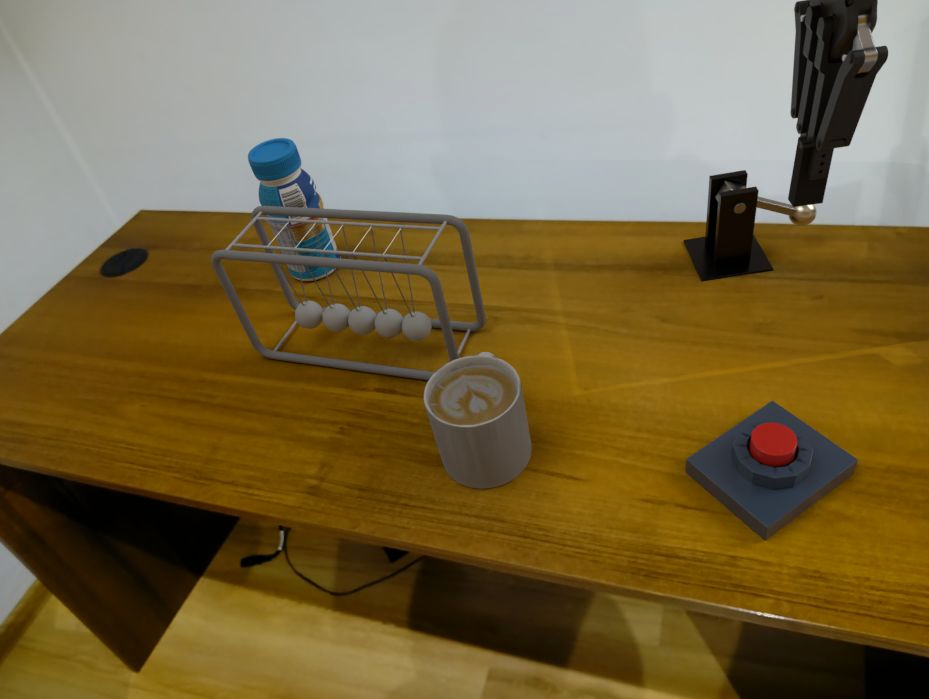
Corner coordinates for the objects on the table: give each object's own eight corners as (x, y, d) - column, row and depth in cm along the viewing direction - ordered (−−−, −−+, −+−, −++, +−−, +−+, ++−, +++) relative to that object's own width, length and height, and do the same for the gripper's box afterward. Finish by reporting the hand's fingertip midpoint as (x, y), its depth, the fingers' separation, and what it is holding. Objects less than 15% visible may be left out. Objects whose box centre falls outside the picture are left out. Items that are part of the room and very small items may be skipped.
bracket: (749, 236, 98) (759, 158, 90) (772, 276, 91) (784, 196, 83) (683, 246, 99) (686, 170, 91) (700, 286, 92) (706, 208, 84)
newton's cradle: (257, 358, 97) (202, 252, 85) (294, 308, 104) (248, 203, 92) (463, 387, 86) (434, 270, 74) (489, 329, 93) (466, 213, 81)
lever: (801, 219, 93) (815, 198, 91) (810, 233, 91) (826, 212, 89) (712, 197, 90) (724, 175, 88) (719, 211, 88) (732, 188, 86)
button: (769, 427, 70) (771, 415, 69) (804, 452, 68) (807, 440, 66) (740, 448, 69) (741, 436, 68) (774, 474, 66) (776, 462, 65)
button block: (769, 413, 76) (774, 388, 73) (854, 473, 69) (862, 447, 66) (684, 472, 72) (686, 447, 70) (764, 541, 66) (769, 516, 63)
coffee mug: (515, 497, 74) (503, 434, 67) (428, 479, 77) (407, 418, 71) (550, 402, 82) (542, 338, 76) (470, 389, 86) (455, 328, 79)
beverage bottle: (280, 283, 109) (229, 166, 96) (302, 250, 115) (256, 135, 101) (331, 284, 107) (285, 164, 93) (350, 250, 112) (310, 132, 99)
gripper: (775, -86, 58) (744, 172, 74) (839, -41, 49) (788, 245, 64) (872, -103, 57) (820, 162, 73) (956, -61, 48) (875, 233, 64)
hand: (805, 200), depth 69 cm, fingers closed
